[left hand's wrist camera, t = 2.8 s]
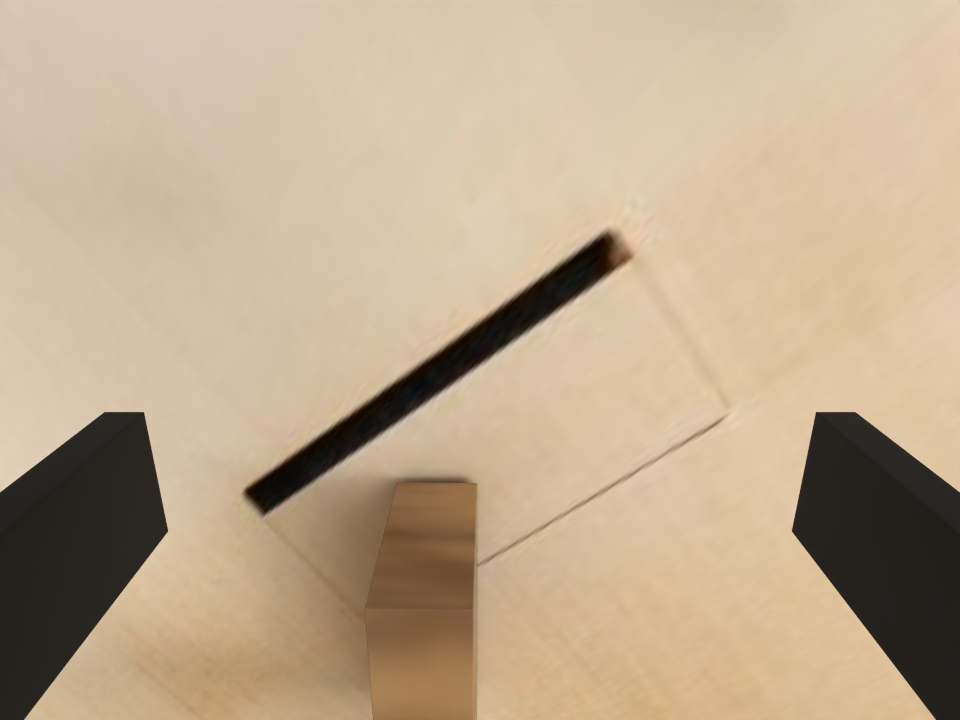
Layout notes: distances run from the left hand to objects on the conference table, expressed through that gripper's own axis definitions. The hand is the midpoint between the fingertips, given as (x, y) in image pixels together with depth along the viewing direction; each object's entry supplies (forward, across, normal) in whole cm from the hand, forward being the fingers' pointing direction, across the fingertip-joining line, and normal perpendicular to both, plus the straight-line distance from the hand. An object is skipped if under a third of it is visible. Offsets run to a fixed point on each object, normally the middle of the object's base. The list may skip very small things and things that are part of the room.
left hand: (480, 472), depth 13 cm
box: (+28, -3, -28) cm, 39 cm away
